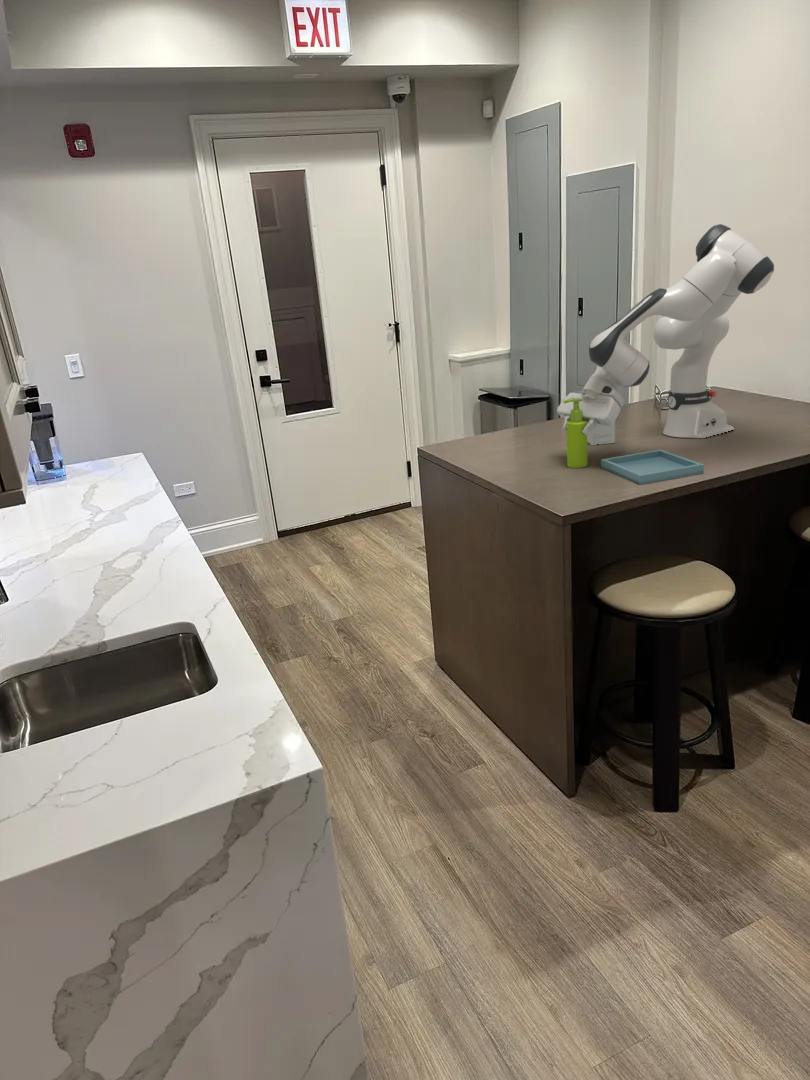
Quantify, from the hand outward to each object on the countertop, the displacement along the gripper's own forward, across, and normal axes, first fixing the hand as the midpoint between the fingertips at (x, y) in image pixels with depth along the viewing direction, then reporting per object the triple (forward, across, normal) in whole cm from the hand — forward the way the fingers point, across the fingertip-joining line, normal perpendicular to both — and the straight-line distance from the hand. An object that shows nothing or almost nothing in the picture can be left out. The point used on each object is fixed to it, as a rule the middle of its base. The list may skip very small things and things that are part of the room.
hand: (574, 432), depth 216 cm
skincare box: (-11, -13, +26) cm, 31 cm away
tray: (0, +20, +15) cm, 25 cm away
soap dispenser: (+7, 0, +8) cm, 11 cm away
